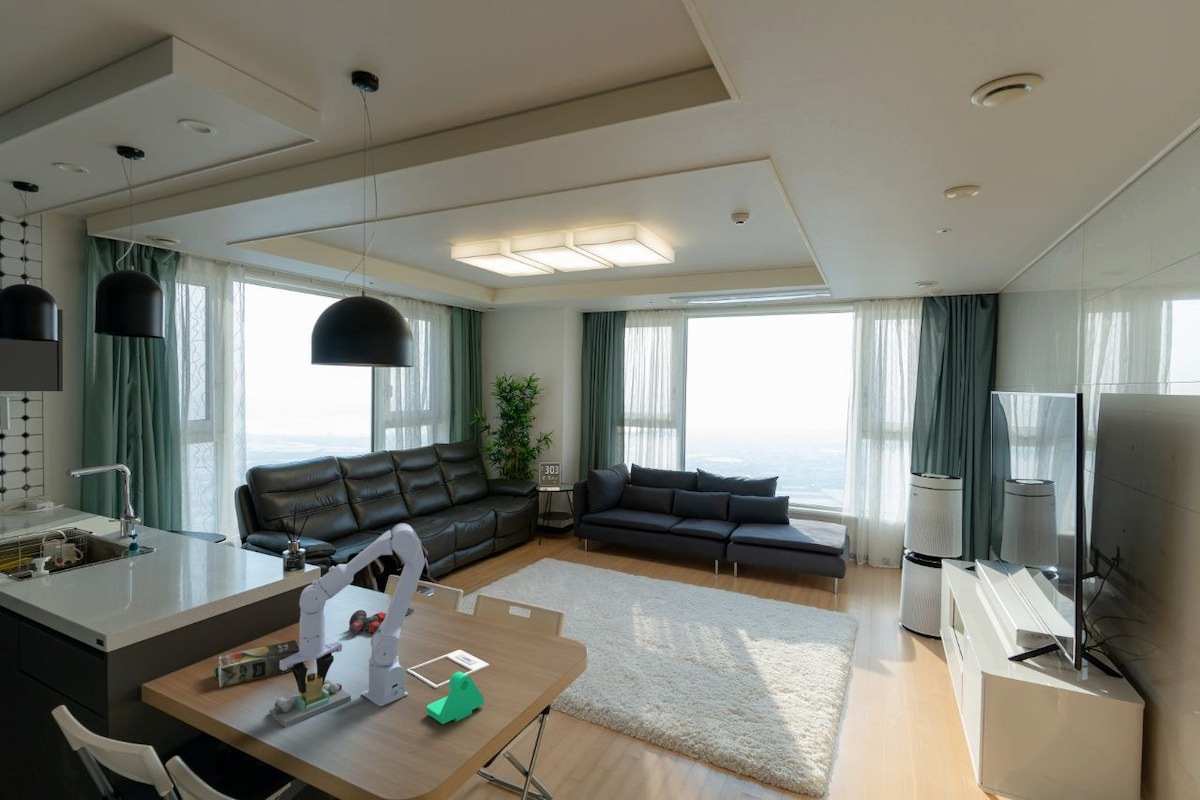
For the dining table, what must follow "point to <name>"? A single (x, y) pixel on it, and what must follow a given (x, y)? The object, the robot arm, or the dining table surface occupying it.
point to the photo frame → (458, 657)
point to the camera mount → (457, 700)
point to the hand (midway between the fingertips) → (311, 688)
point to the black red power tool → (367, 621)
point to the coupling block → (312, 689)
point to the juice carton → (253, 663)
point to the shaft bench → (297, 711)
